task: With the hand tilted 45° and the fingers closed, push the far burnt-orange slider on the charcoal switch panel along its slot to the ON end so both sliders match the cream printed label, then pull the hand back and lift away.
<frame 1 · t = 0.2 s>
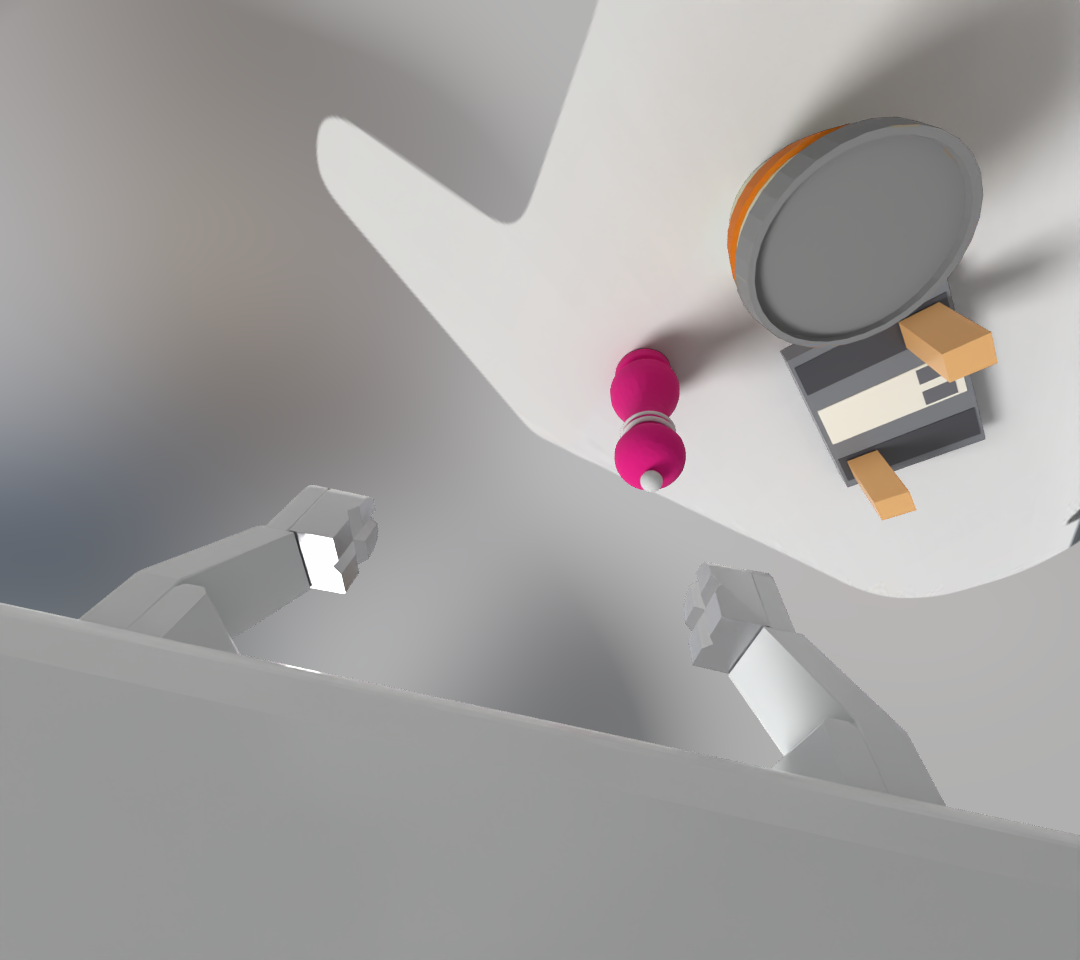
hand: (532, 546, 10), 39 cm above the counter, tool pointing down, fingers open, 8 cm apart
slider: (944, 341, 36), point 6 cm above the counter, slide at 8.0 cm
pepper mill: (642, 373, 49), on the counter
switch panel: (877, 389, 46), on the counter
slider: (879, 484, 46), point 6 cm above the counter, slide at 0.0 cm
reusable coffee cup: (783, 211, 37), on the counter
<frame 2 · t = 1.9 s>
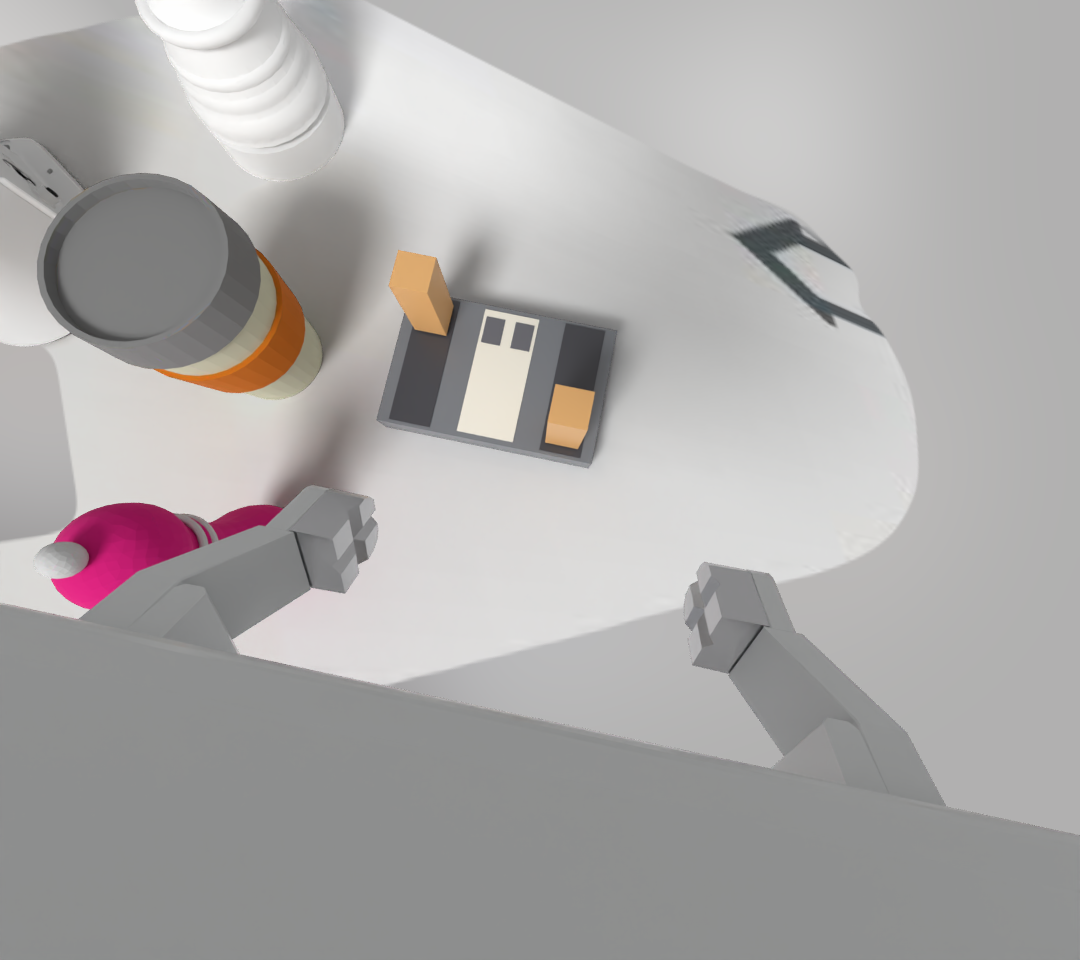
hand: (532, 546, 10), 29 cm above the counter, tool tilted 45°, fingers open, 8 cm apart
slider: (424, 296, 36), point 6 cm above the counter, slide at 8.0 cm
pepper mill: (291, 546, 39), on the counter
honey pot: (285, 129, 45), on the counter
switch panel: (501, 384, 41), on the counter
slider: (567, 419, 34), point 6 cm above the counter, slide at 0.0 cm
reusable coffee cup: (278, 357, 42), on the counter
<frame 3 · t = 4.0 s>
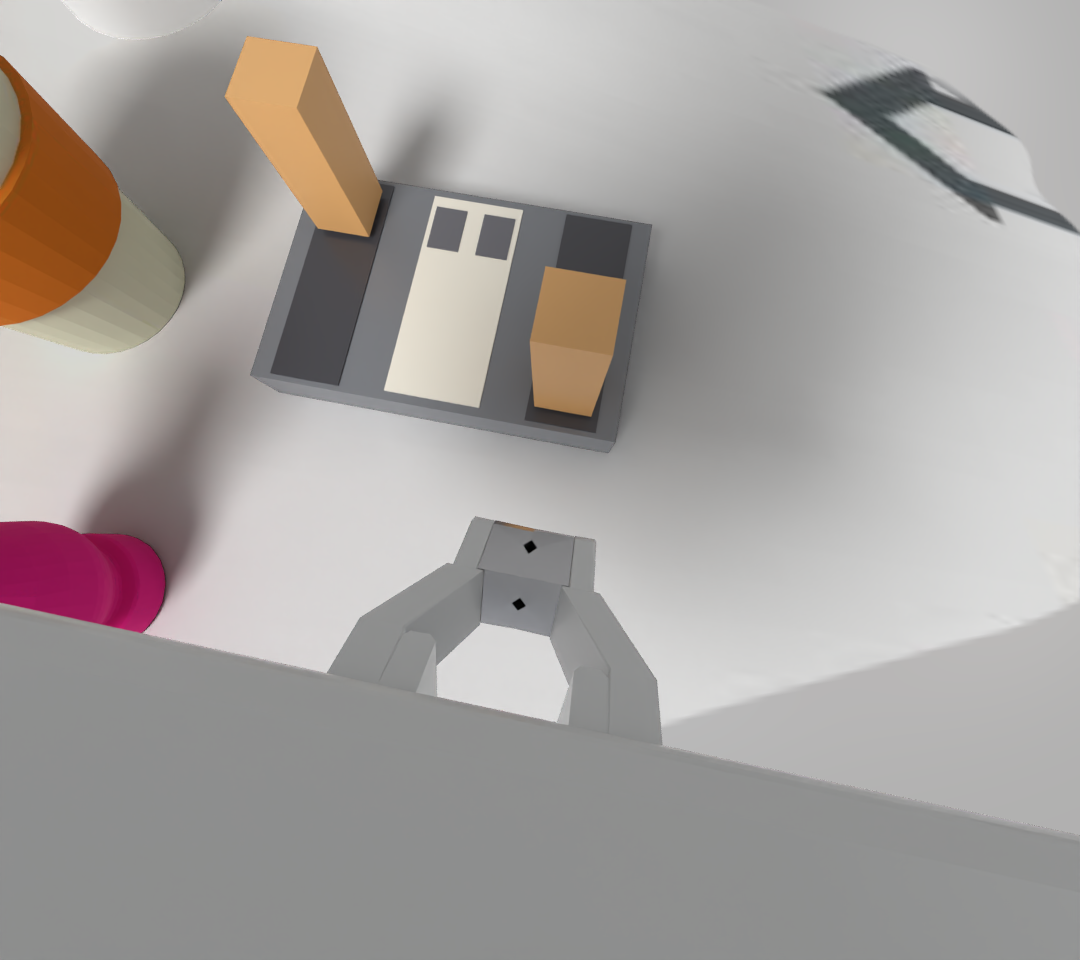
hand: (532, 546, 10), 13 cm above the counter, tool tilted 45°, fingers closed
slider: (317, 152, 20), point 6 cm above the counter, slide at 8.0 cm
pepper mill: (115, 590, 24), on the counter
switch panel: (464, 321, 26), on the counter
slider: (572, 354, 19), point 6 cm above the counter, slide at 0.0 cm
reusable coffee cup: (117, 289, 27), on the counter
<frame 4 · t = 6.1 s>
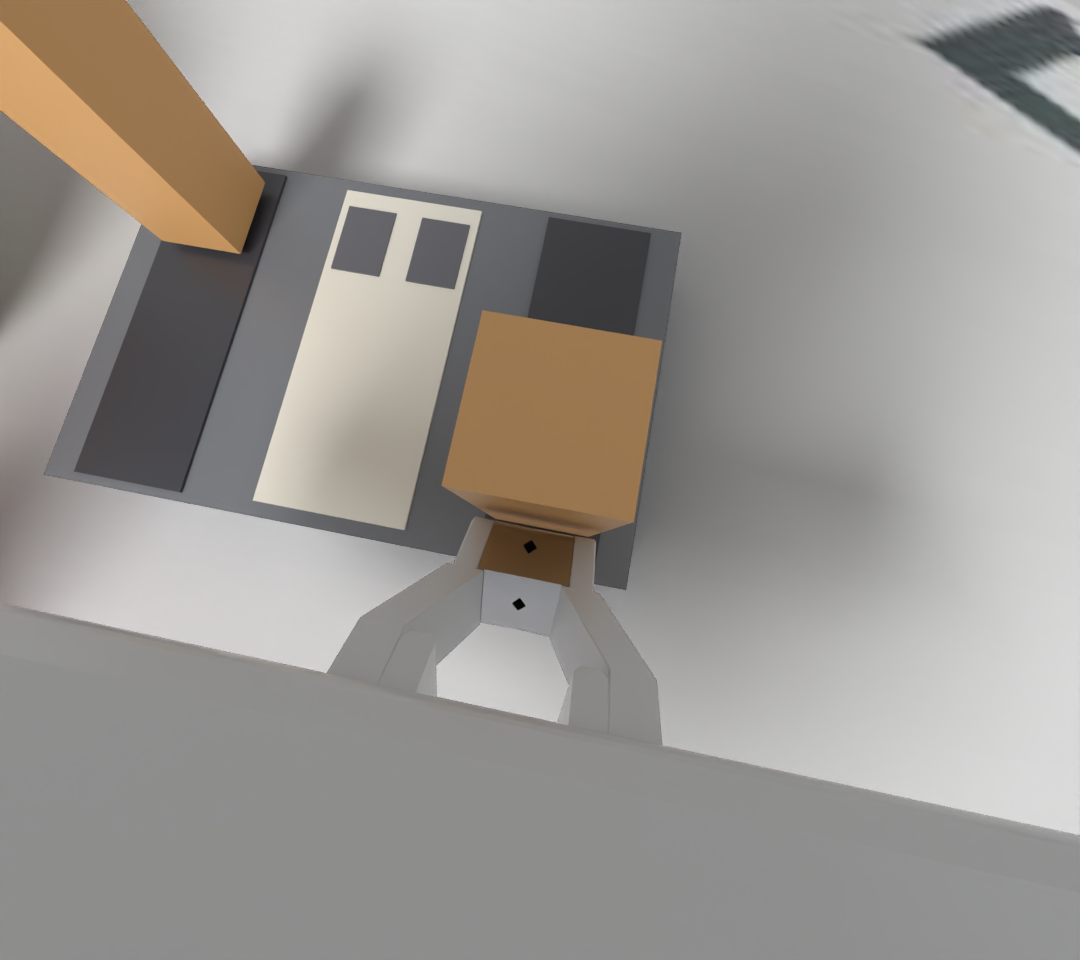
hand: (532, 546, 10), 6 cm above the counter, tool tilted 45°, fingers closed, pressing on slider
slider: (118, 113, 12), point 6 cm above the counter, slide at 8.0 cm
switch panel: (399, 377, 17), on the counter
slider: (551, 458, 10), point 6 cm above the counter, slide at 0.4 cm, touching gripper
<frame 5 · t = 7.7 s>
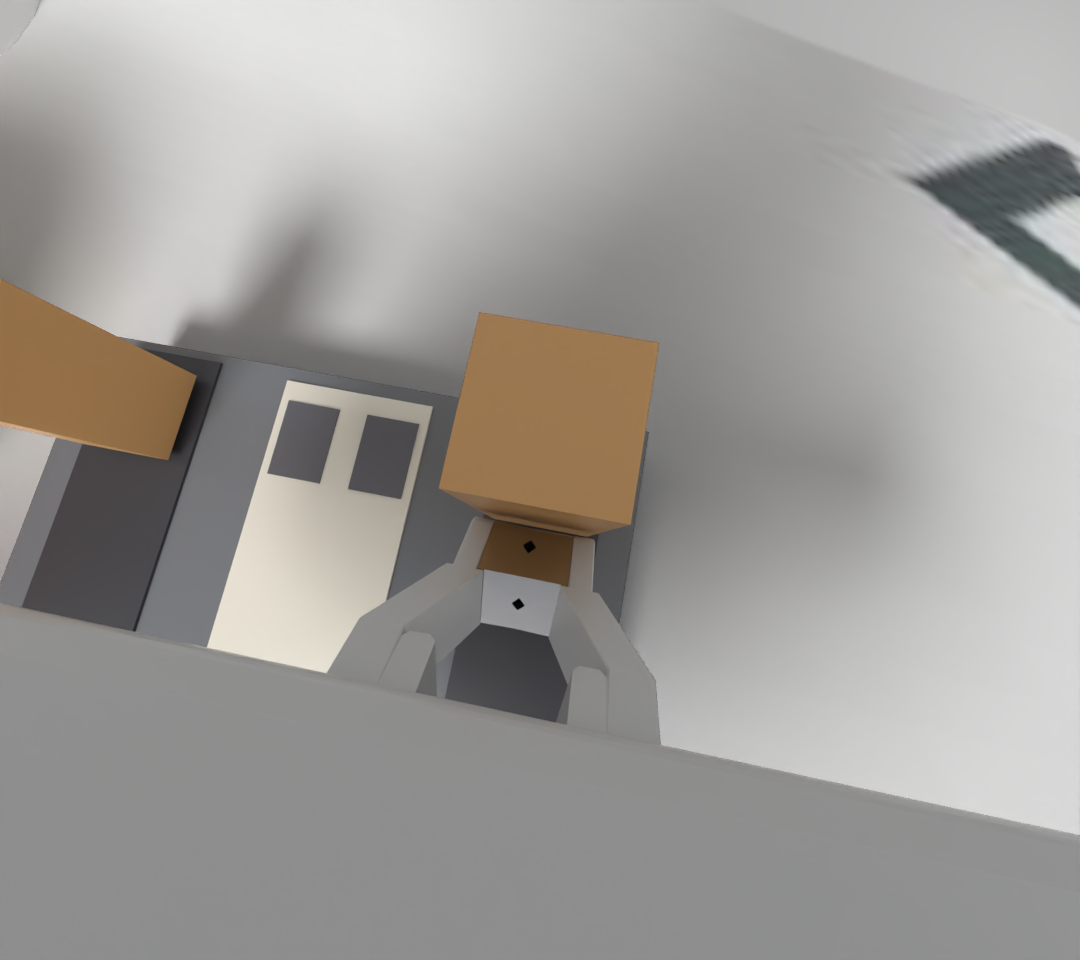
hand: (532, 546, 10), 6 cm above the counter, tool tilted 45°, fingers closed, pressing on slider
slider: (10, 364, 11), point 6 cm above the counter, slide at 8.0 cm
switch panel: (349, 564, 16), on the counter
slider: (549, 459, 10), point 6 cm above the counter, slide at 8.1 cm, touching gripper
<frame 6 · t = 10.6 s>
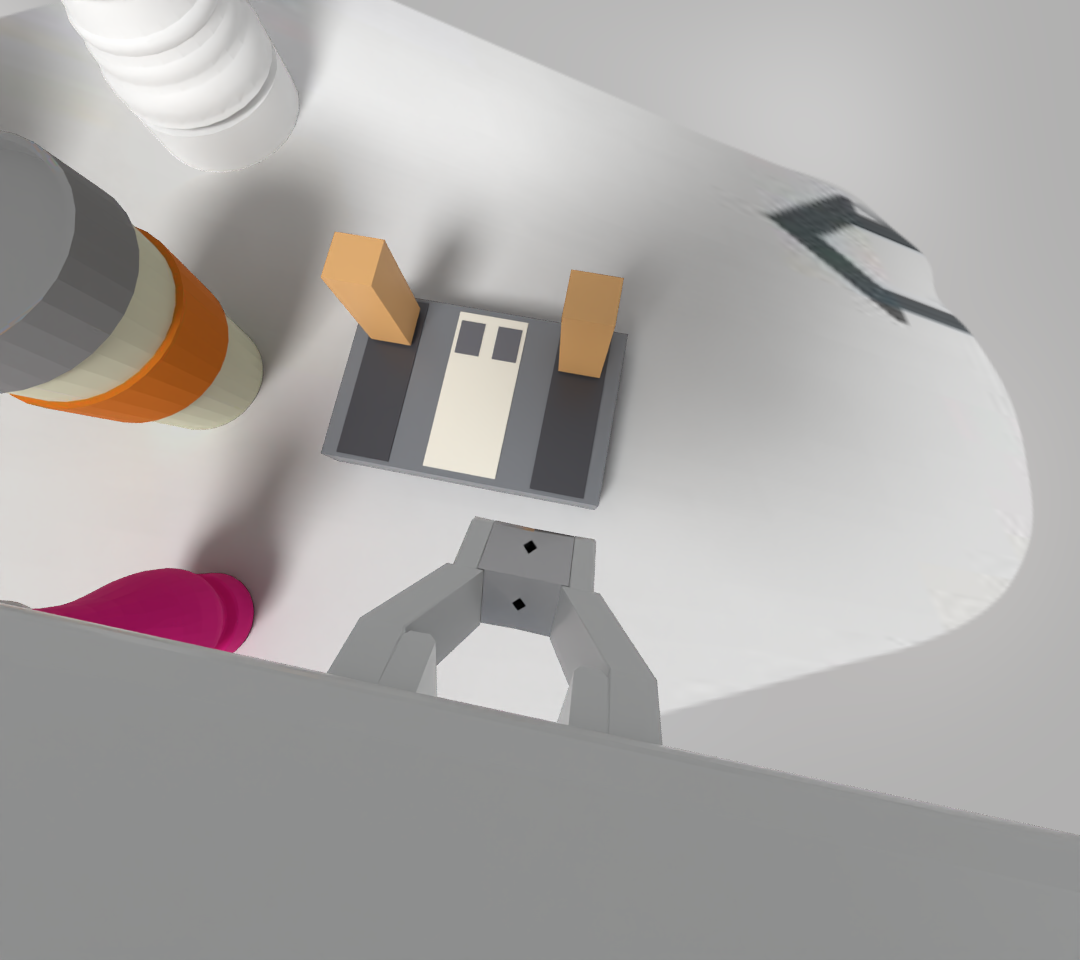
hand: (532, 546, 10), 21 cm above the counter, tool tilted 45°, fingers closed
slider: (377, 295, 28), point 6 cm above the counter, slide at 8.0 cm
pepper mill: (214, 616, 31), on the counter
honey pot: (231, 114, 38), on the counter
switch panel: (482, 404, 33), on the counter
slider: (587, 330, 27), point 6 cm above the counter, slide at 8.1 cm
reusable coffee cup: (209, 377, 34), on the counter
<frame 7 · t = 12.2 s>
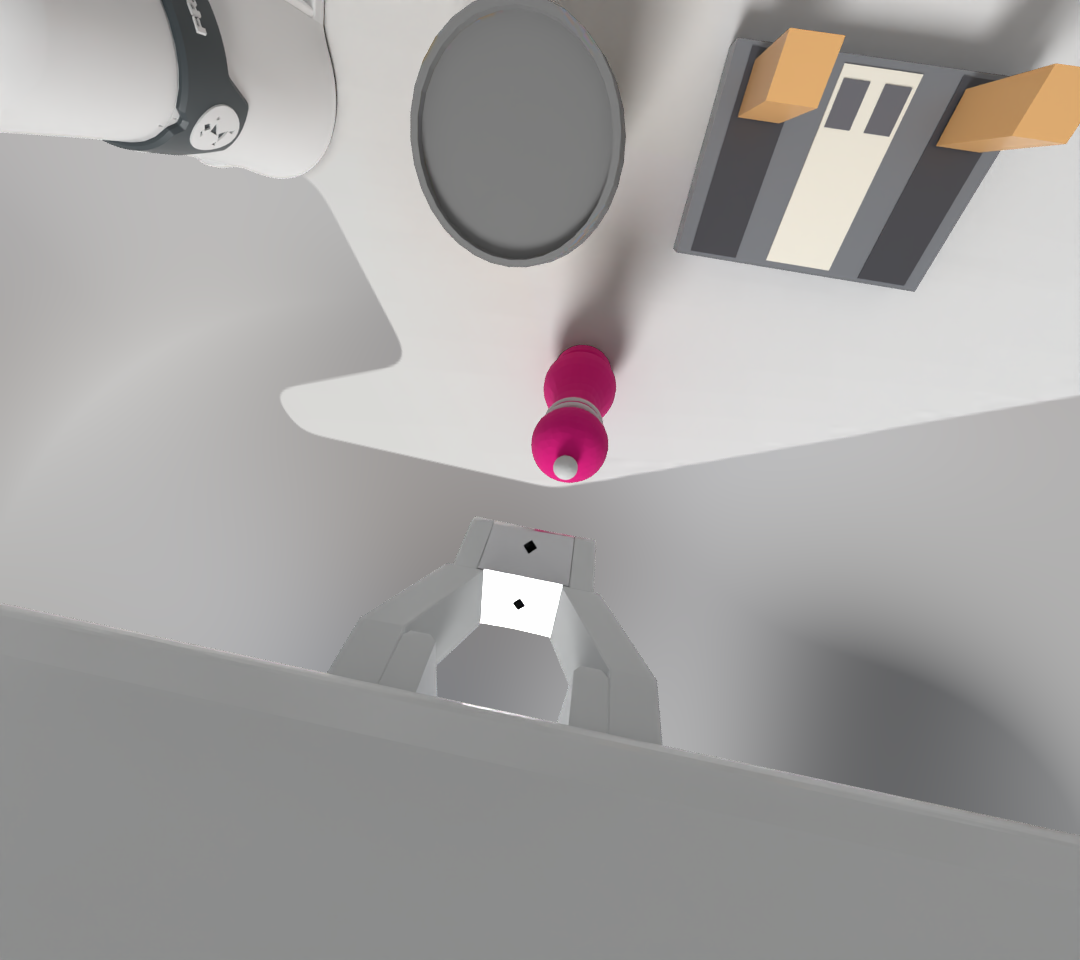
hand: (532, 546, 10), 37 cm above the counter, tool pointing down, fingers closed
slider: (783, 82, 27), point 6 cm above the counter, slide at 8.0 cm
pepper mill: (582, 372, 46), on the counter
switch panel: (822, 178, 34), on the counter
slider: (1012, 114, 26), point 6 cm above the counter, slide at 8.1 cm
reusable coffee cup: (548, 163, 36), on the counter
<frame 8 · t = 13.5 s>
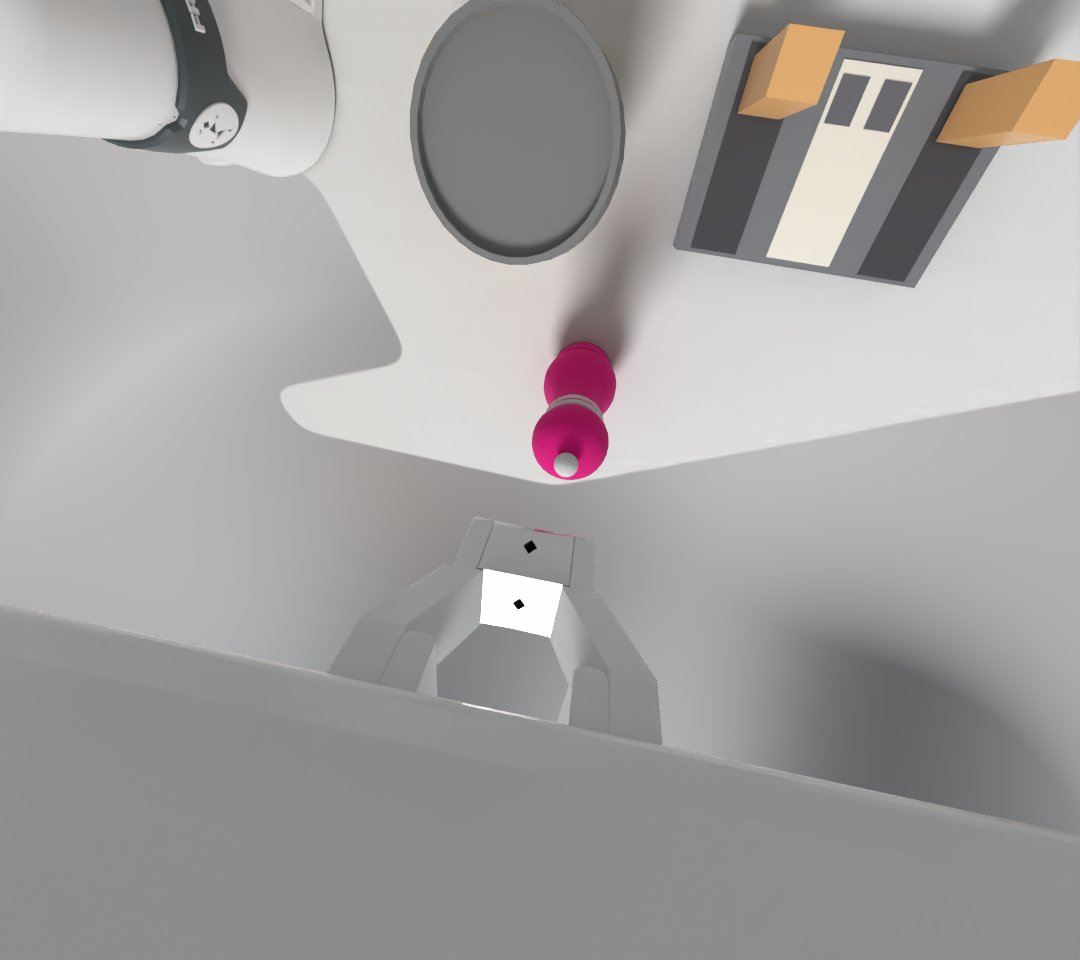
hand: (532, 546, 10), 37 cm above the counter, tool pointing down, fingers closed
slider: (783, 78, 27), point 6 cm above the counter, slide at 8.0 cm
pepper mill: (582, 369, 46), on the counter
switch panel: (821, 174, 34), on the counter
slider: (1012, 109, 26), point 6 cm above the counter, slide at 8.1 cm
reusable coffee cup: (547, 160, 36), on the counter
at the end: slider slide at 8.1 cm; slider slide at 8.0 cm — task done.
